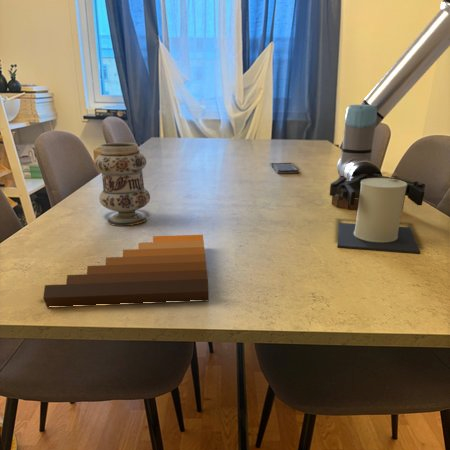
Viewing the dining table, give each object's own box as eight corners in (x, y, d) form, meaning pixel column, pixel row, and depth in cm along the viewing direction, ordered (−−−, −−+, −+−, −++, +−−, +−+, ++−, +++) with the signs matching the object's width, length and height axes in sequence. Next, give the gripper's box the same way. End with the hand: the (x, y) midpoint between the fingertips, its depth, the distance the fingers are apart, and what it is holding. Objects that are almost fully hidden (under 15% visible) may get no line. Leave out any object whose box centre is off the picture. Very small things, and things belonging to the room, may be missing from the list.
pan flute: (46, 310, 66) (208, 303, 68) (41, 290, 65) (208, 283, 66) (81, 251, 88) (203, 247, 90) (78, 235, 87) (202, 231, 88)
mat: (409, 229, 100) (410, 227, 99) (419, 254, 86) (420, 251, 86) (338, 224, 103) (338, 222, 103) (337, 247, 89) (337, 245, 89)
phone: (290, 162, 170) (299, 170, 157) (290, 165, 170) (298, 173, 157) (270, 163, 169) (277, 170, 156) (270, 166, 170) (277, 173, 157)
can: (406, 237, 93) (417, 181, 88) (378, 246, 88) (388, 187, 83) (372, 226, 100) (380, 173, 94) (344, 234, 95) (351, 179, 90)
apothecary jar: (151, 212, 113) (145, 140, 105) (152, 226, 103) (145, 147, 95) (104, 214, 112) (94, 141, 103) (100, 229, 101) (88, 148, 93)
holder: (399, 201, 122) (404, 170, 118) (404, 213, 111) (410, 180, 107) (332, 197, 126) (335, 168, 122) (330, 209, 115) (334, 177, 111)
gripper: (411, 192, 107) (445, 217, 88) (310, 192, 108) (322, 216, 90) (417, 161, 104) (454, 180, 85) (312, 161, 105) (326, 179, 86)
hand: (386, 198), depth 87 cm, fingers open, 13 cm apart
